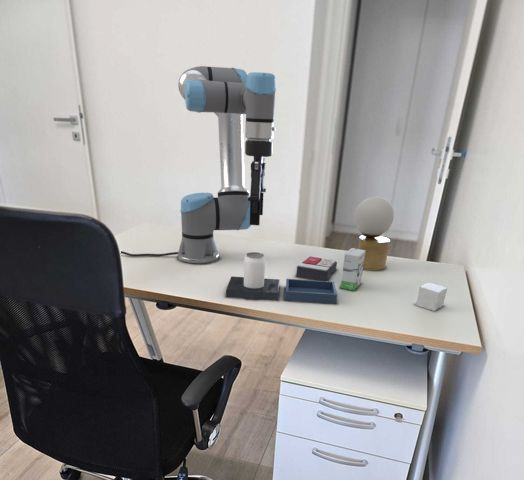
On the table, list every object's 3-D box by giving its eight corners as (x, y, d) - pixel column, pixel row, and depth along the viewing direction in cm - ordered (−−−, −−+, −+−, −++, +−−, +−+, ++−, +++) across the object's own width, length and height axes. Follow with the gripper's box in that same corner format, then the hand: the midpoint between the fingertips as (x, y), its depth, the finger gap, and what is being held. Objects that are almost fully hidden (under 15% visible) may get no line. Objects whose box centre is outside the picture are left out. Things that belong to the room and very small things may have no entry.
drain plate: (225, 297, 134) (225, 290, 133) (231, 282, 146) (231, 275, 145) (277, 301, 134) (278, 293, 133) (279, 285, 145) (279, 278, 144)
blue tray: (284, 300, 134) (285, 291, 133) (285, 287, 145) (286, 278, 143) (335, 303, 134) (337, 294, 132) (333, 290, 144) (334, 281, 142)
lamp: (340, 260, 173) (349, 193, 161) (370, 257, 178) (381, 192, 166) (363, 272, 161) (374, 201, 149) (394, 268, 166) (407, 200, 154)
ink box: (353, 291, 144) (359, 256, 138) (339, 288, 146) (344, 253, 140) (361, 283, 151) (366, 249, 145) (347, 280, 152) (351, 247, 147)
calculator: (337, 259, 161) (327, 269, 148) (336, 271, 163) (326, 281, 150) (309, 255, 164) (296, 264, 152) (307, 266, 166) (295, 276, 154)
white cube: (442, 305, 136) (447, 287, 133) (434, 311, 132) (438, 292, 129) (424, 300, 140) (428, 282, 137) (415, 304, 136) (419, 286, 133)
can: (267, 291, 140) (269, 255, 134) (253, 297, 136) (255, 259, 130) (253, 286, 144) (254, 250, 138) (239, 291, 140) (239, 254, 134)
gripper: (270, 143, 108) (266, 230, 118) (274, 137, 129) (271, 211, 140) (240, 142, 108) (239, 229, 118) (249, 136, 130) (247, 210, 140)
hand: (256, 219), depth 129 cm, fingers open, 13 cm apart
